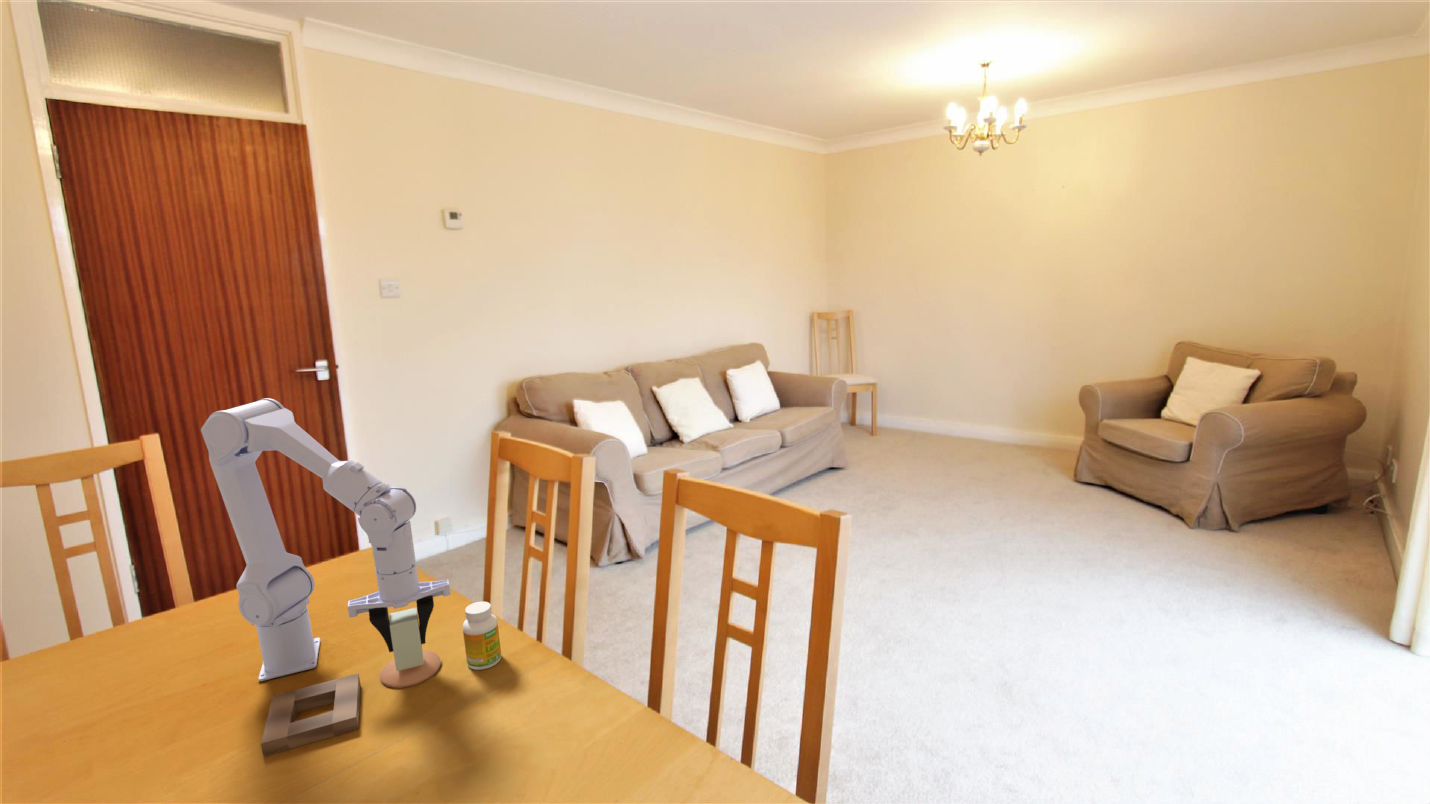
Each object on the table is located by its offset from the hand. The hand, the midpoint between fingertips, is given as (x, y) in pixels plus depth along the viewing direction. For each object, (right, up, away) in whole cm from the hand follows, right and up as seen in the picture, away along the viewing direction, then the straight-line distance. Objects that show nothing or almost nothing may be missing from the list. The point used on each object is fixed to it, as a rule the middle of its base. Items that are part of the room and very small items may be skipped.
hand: (407, 644), depth 108 cm
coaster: (0, -4, +1) cm, 5 cm away
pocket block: (-9, -7, -10) cm, 15 cm away
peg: (0, -3, +1) cm, 3 cm away
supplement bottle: (+11, -4, +3) cm, 12 cm away
